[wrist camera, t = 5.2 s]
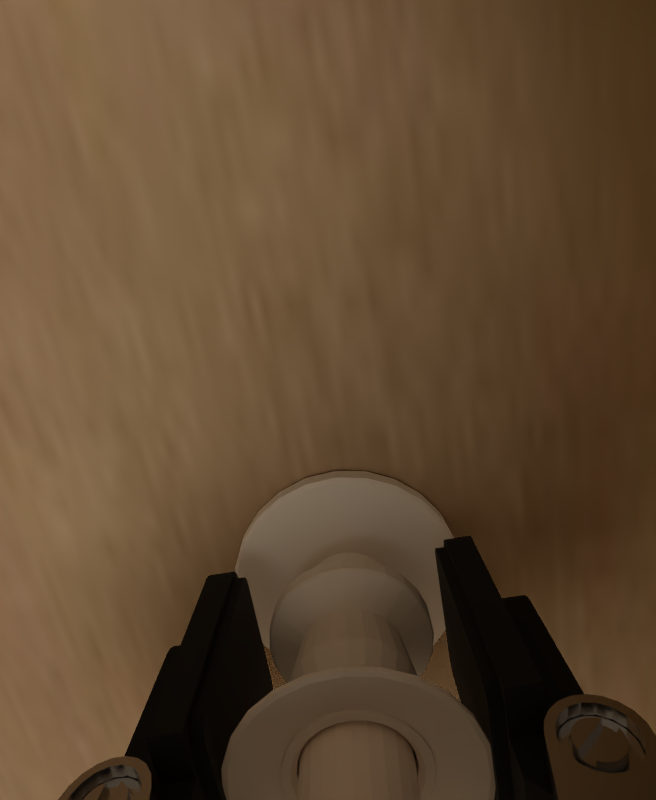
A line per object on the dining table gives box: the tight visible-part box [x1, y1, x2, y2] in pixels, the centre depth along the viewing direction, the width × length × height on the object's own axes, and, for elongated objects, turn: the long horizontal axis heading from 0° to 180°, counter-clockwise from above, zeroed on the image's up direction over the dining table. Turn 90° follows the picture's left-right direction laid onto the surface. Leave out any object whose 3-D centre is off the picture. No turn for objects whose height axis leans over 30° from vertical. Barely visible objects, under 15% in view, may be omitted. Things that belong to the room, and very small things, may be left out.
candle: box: [221, 471, 496, 800], centre depth 8 cm, size 5×5×10 cm
